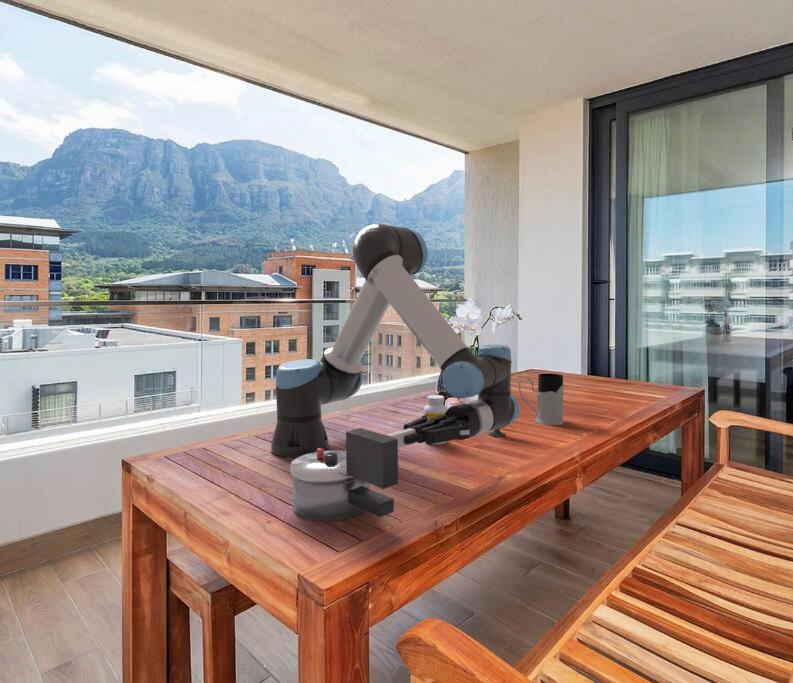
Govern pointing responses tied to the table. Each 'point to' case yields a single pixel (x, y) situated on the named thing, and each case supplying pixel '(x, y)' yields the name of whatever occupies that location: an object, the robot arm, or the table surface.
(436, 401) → the supplement bottle
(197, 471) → the table surface
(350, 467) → the lid
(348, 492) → the pot
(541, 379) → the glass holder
